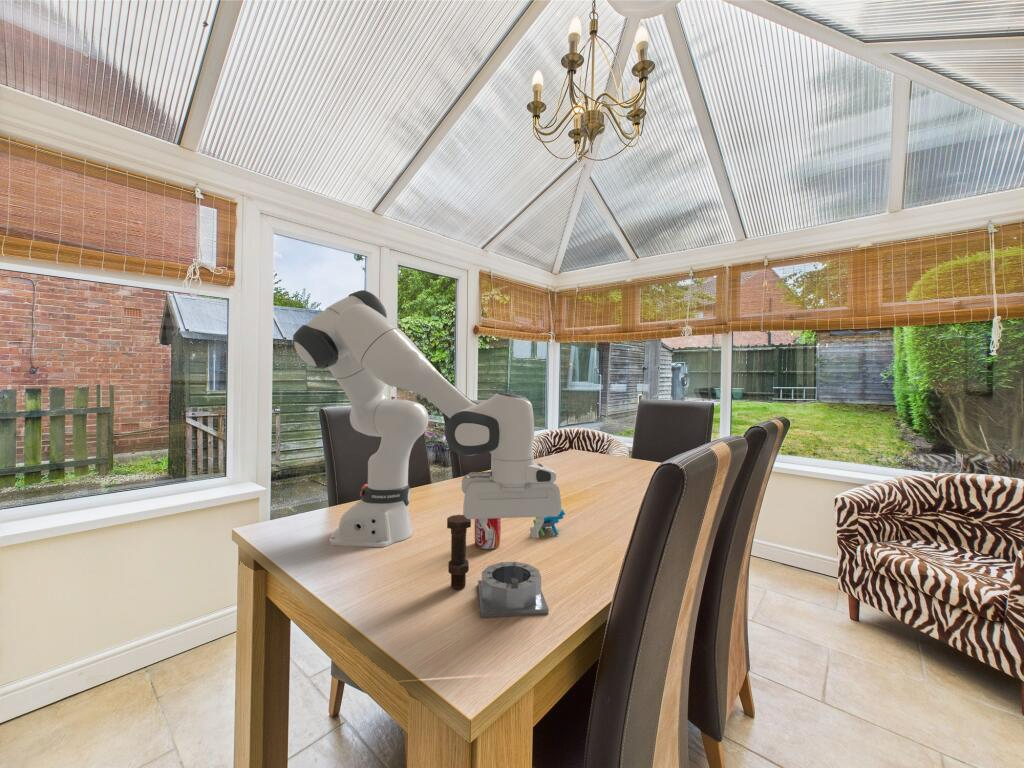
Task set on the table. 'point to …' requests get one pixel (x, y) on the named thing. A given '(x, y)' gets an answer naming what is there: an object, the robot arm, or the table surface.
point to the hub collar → (511, 591)
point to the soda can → (480, 533)
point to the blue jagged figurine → (551, 522)
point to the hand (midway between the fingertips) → (511, 538)
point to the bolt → (458, 550)
